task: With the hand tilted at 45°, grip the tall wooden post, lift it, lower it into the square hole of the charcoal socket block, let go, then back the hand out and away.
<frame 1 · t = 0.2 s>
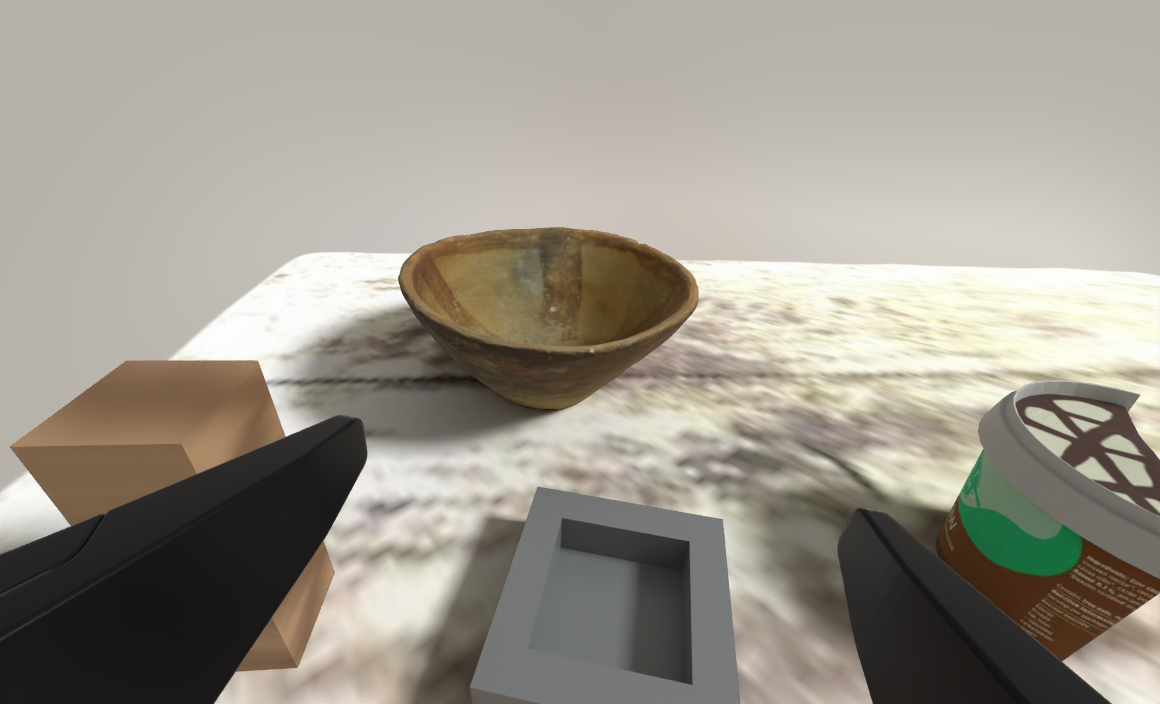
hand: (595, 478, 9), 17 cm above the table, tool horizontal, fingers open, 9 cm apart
bowl: (547, 377, 41), on the table
socket: (611, 625, 23), on the table
tall wooden post: (267, 618, 22), on the table
food container: (973, 562, 27), on the table
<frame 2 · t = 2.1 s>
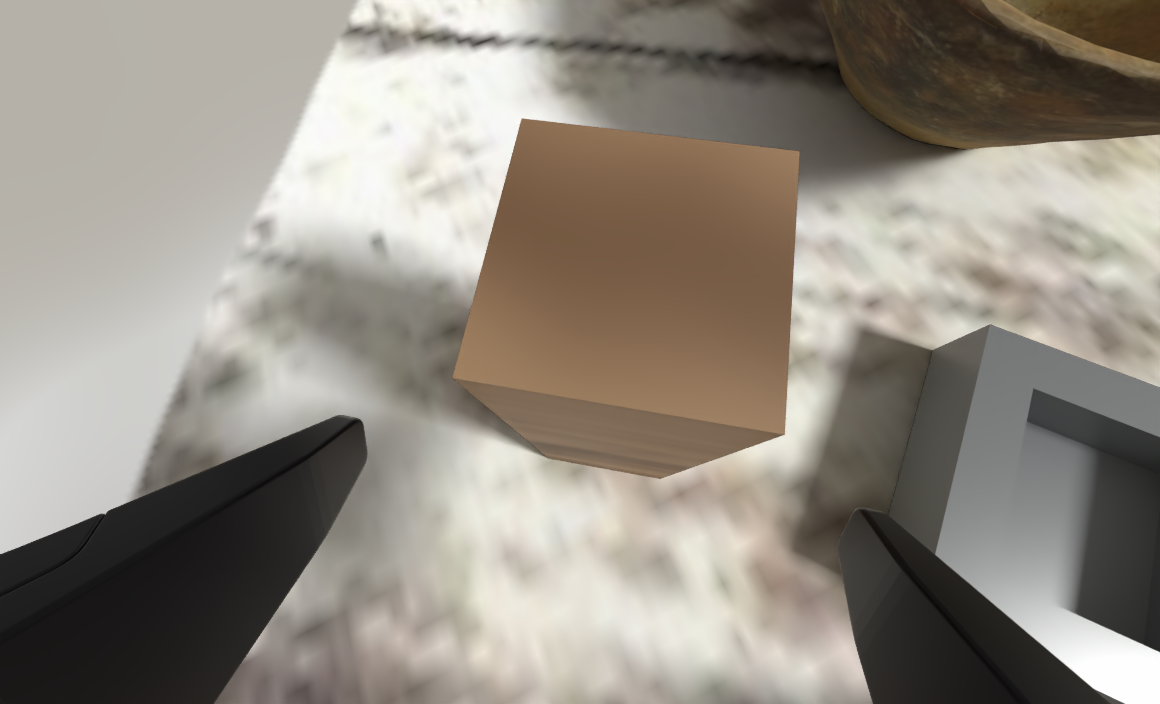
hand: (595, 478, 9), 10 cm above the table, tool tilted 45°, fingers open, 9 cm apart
bowl: (938, 75, 24), on the table
socket: (1039, 519, 18), on the table
tall wooden post: (612, 412, 19), on the table
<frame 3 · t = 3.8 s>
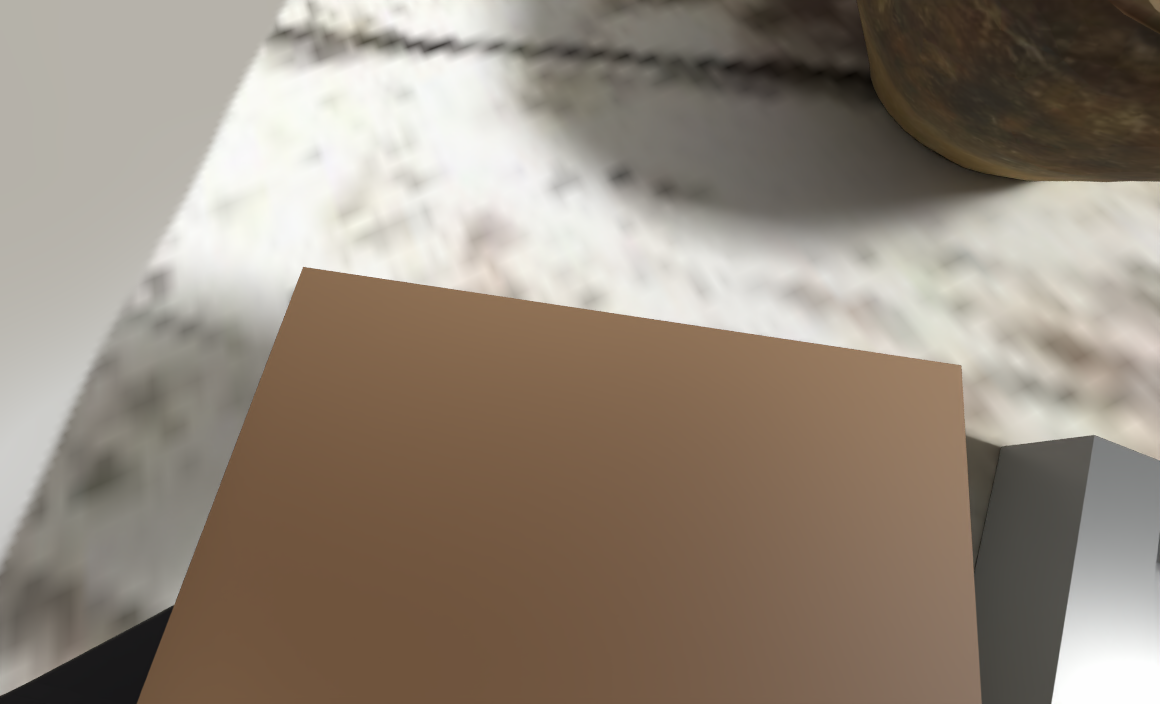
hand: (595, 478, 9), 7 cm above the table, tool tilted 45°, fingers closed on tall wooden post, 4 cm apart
bowl: (992, 86, 20), on the table
socket: (1152, 686, 13), on the table
tall wooden post: (588, 531, 15), on the table, touching gripper
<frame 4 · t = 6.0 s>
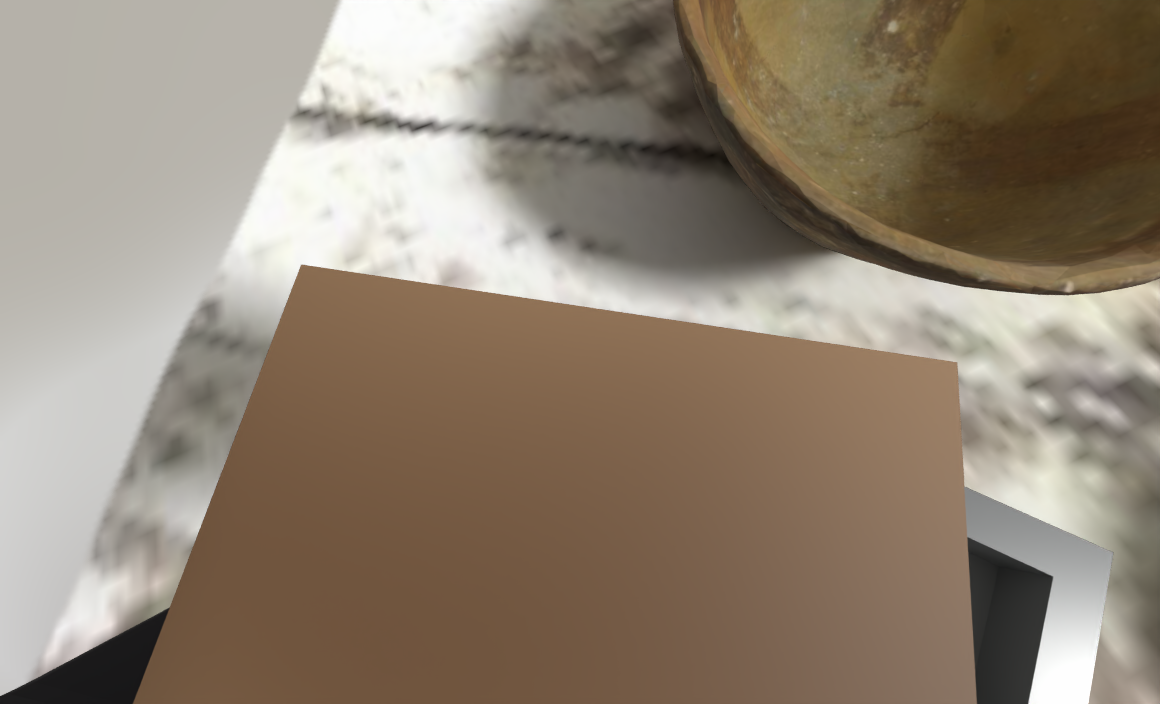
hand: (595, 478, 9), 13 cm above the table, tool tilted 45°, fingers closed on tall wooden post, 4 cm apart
bowl: (841, 168, 26), on the table
socket: (889, 603, 20), on the table
tall wooden post: (588, 530, 15), point 6 cm above the table, touching gripper
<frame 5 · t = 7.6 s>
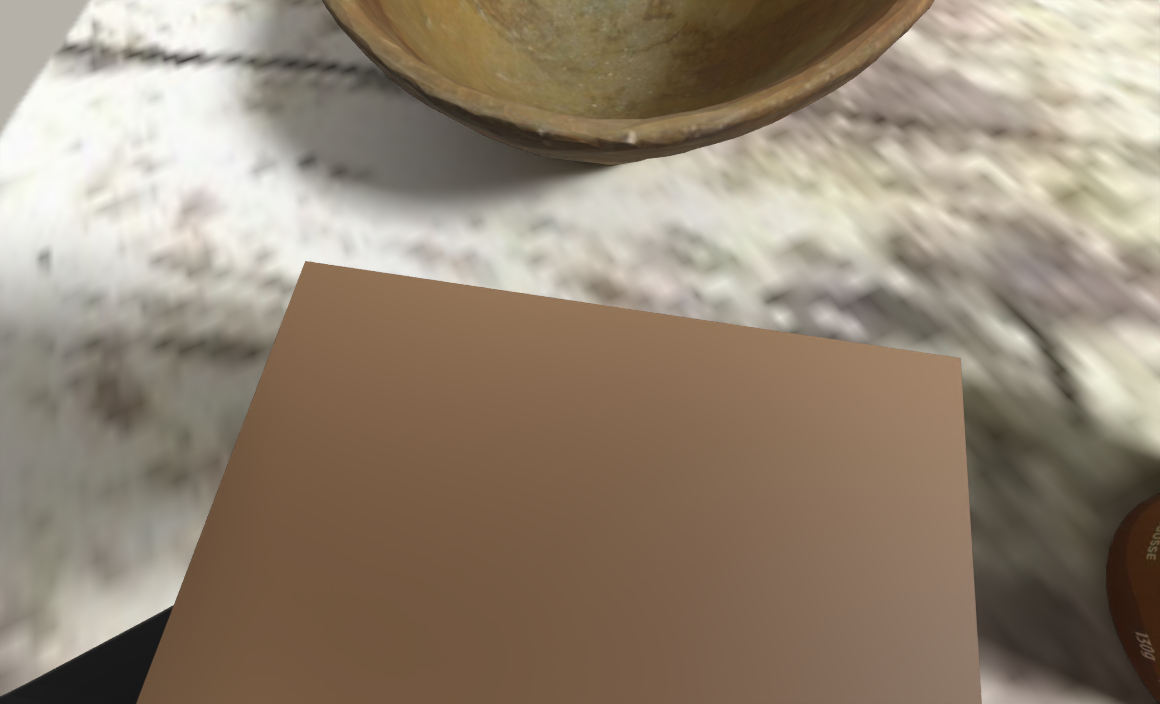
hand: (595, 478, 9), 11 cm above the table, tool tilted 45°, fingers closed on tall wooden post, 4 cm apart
bowl: (611, 91, 25), on the table
tall wooden post: (589, 530, 15), point 4 cm above the table, touching gripper
when the fingers open (8 cm above the table, at t = 8.6 s): tall wooden post stays where it is, resting on socket.
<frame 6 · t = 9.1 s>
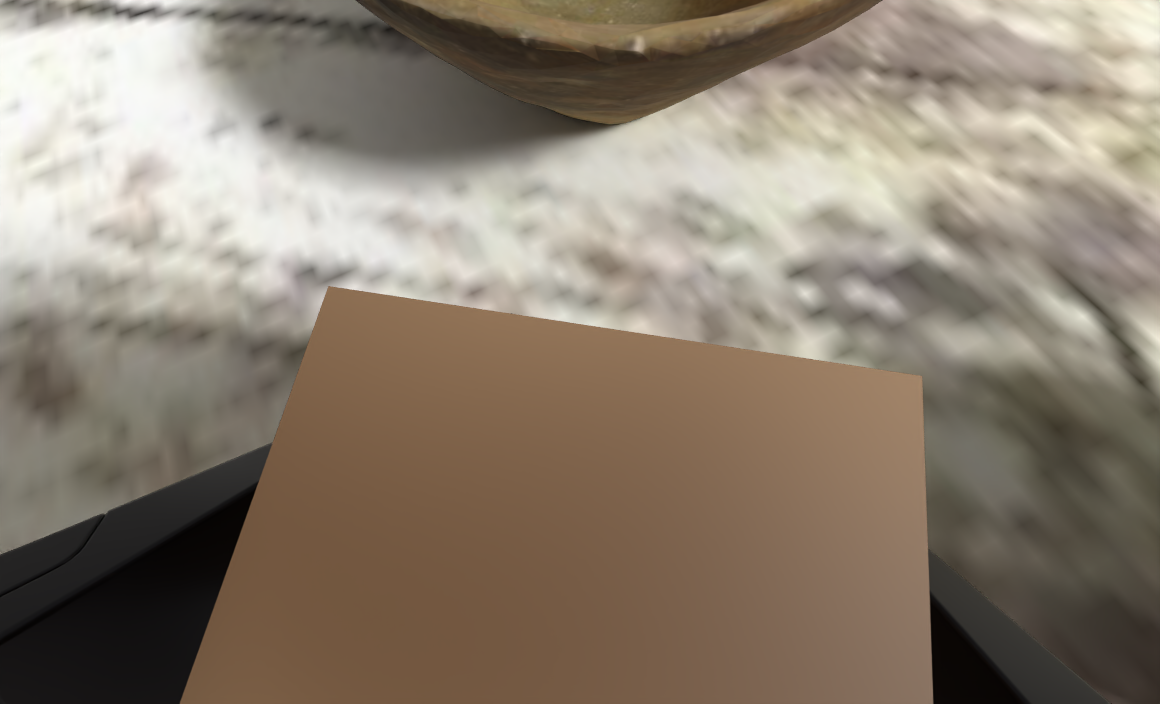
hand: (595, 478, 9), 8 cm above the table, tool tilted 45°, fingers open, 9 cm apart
bowl: (611, 45, 22), on the table
tall wooden post: (589, 528, 15), point 1 cm above the table, touching socket
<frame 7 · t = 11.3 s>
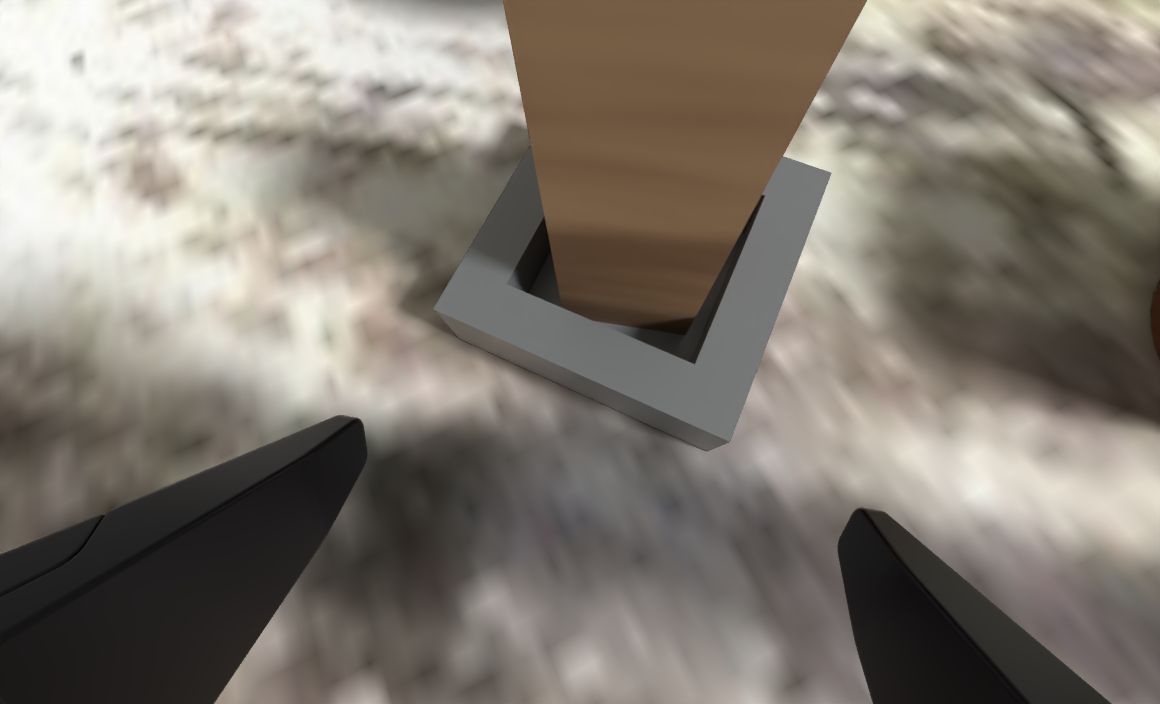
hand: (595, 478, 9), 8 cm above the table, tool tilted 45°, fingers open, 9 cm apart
socket: (632, 278, 18), on the table
tall wooden post: (632, 270, 18), point 1 cm above the table, touching socket
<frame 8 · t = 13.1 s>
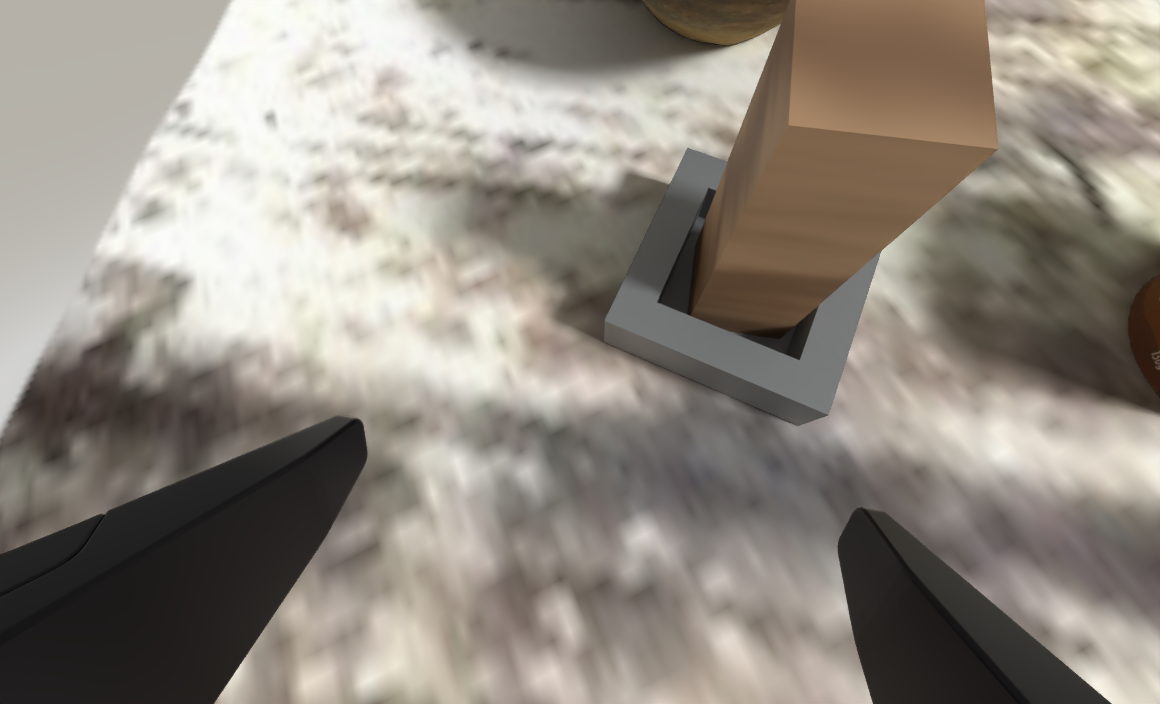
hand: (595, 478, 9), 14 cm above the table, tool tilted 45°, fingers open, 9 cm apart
socket: (733, 295, 24), on the table
tall wooden post: (736, 290, 24), point 1 cm above the table, touching socket
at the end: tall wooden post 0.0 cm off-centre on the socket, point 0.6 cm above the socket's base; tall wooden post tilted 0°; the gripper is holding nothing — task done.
